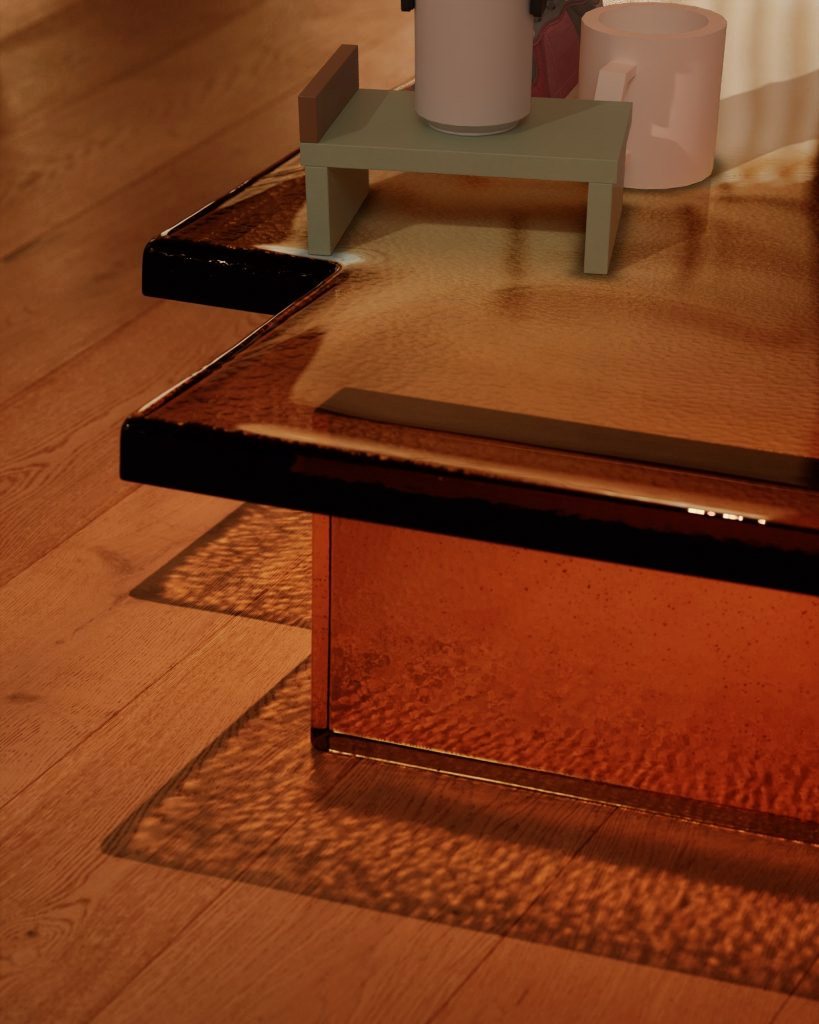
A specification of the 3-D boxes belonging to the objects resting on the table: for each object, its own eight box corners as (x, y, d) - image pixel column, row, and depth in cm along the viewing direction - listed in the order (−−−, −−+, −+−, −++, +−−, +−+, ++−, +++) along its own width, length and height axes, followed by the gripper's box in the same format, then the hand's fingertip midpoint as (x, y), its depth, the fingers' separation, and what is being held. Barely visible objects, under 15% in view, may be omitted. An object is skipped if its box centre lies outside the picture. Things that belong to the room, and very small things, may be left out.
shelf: (626, 208, 112) (635, 57, 106) (611, 275, 101) (621, 112, 96) (345, 191, 115) (341, 43, 109) (304, 254, 105) (297, 95, 99)
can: (432, 100, 108) (431, -86, 102) (541, 109, 106) (547, -81, 100) (401, 134, 102) (399, -62, 96) (516, 144, 100) (521, -56, 94)
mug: (676, 213, 111) (689, 58, 105) (538, 192, 114) (543, 42, 109) (729, 153, 121) (743, 10, 116) (600, 136, 125) (608, -4, 119)
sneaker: (373, 159, 121) (370, -3, 114) (525, 64, 142) (529, -78, 136) (497, 180, 116) (500, 13, 110) (634, 78, 138) (643, -67, 132)
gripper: (313, -302, 90) (325, 18, 99) (626, -300, 87) (608, 30, 96) (344, -313, 96) (352, -11, 105) (636, -311, 93) (618, 0, 102)
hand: (474, 7), depth 100 cm, fingers closed on can, 7 cm apart
